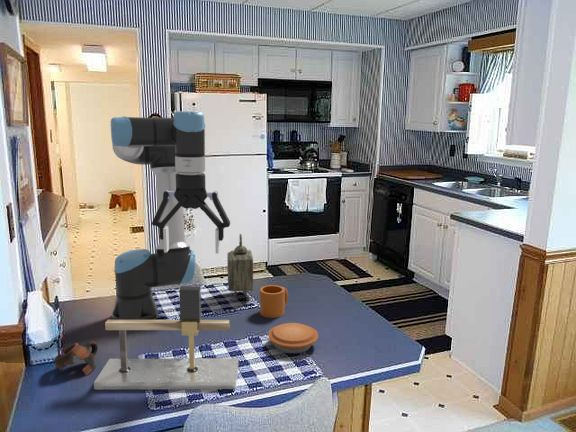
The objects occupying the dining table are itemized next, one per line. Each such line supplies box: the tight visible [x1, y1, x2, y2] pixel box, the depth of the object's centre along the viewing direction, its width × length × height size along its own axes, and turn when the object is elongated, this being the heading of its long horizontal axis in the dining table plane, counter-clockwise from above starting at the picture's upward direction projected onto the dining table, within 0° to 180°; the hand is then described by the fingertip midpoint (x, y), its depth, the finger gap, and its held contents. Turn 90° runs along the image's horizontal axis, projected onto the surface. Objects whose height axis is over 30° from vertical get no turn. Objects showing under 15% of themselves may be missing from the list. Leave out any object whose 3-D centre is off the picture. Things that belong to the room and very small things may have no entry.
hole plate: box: [93, 357, 240, 391], centre depth 125 cm, size 12×36×2 cm, turn 92°
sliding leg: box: [179, 285, 202, 369], centre depth 123 cm, size 5×5×23 cm
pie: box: [267, 322, 319, 355], centre depth 144 cm, size 16×16×5 cm
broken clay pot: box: [53, 340, 98, 376], centre depth 129 cm, size 12×10×8 cm
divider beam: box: [104, 319, 231, 371], centre depth 123 cm, size 2×32×14 cm, turn 92°
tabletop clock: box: [226, 233, 254, 302], centre depth 180 cm, size 14×9×25 cm, turn 9°
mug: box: [259, 284, 289, 319], centre depth 168 cm, size 9×12×9 cm
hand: (192, 251), depth 124 cm, fingers open, 13 cm apart
